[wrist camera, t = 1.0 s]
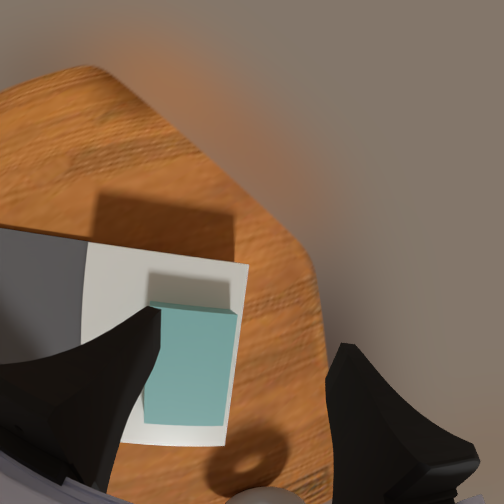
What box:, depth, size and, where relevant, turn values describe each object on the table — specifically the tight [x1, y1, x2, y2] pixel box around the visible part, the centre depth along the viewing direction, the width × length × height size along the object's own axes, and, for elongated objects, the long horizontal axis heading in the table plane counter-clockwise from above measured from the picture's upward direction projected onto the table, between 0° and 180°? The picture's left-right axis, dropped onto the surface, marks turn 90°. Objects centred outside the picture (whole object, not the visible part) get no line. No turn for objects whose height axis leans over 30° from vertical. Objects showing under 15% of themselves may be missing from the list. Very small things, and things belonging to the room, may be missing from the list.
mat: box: [0, 228, 88, 364], centre depth 21 cm, size 16×10×1 cm, turn 171°
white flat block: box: [81, 242, 249, 446], centre depth 23 cm, size 16×12×4 cm
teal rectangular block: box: [144, 301, 238, 426], centre depth 21 cm, size 9×6×2 cm, turn 171°
